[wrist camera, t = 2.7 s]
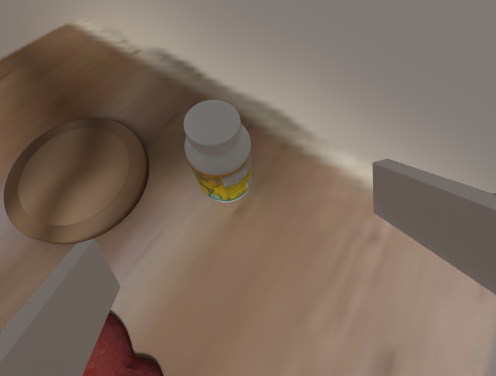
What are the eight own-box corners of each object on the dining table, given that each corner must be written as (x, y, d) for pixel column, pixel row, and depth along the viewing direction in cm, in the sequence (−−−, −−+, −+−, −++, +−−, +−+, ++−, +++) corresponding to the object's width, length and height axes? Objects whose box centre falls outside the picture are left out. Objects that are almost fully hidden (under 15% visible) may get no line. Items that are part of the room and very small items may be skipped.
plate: (-7, 245, 24) (-22, 243, 22) (39, 126, 29) (29, 118, 28) (137, 242, 23) (131, 239, 22) (156, 122, 29) (152, 115, 28)
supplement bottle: (261, 186, 25) (266, 130, 16) (217, 214, 24) (196, 169, 15) (234, 149, 27) (225, 81, 18) (192, 173, 26) (160, 112, 17)
